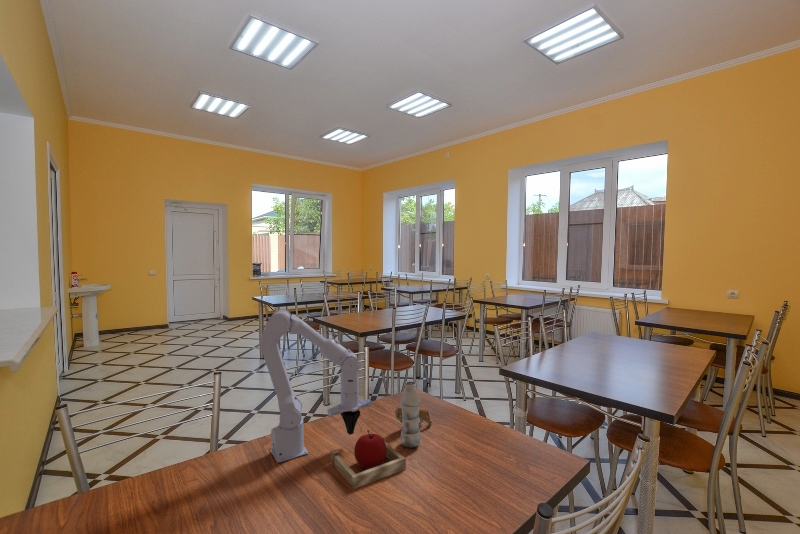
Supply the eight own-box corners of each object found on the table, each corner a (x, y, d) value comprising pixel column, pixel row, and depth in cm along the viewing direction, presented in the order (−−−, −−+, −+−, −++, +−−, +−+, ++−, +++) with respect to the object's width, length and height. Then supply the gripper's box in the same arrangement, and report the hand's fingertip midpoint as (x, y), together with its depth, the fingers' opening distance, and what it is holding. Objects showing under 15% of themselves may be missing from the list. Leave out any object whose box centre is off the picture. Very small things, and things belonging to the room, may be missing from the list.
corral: (352, 489, 98) (352, 475, 98) (330, 463, 110) (330, 451, 110) (406, 468, 108) (406, 455, 107) (381, 447, 120) (381, 435, 119)
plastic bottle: (421, 440, 124) (420, 380, 123) (420, 451, 117) (420, 387, 116) (401, 439, 124) (401, 379, 124) (399, 450, 118) (399, 386, 117)
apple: (356, 476, 104) (356, 440, 104) (352, 458, 113) (352, 426, 112) (389, 471, 106) (389, 436, 106) (383, 454, 115) (382, 422, 115)
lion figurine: (399, 436, 126) (399, 410, 126) (392, 430, 131) (392, 404, 131) (435, 426, 134) (435, 401, 133) (427, 420, 138) (427, 396, 138)
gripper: (333, 400, 113) (334, 444, 113) (375, 390, 121) (376, 431, 121) (324, 392, 119) (325, 435, 119) (365, 384, 127) (365, 423, 127)
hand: (350, 433), depth 121 cm, fingers closed
